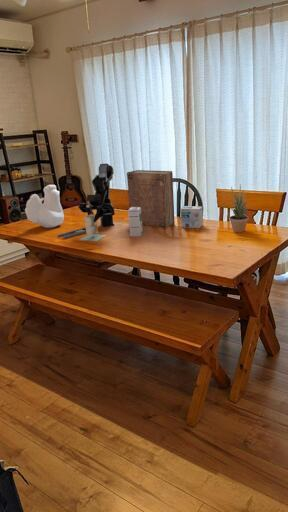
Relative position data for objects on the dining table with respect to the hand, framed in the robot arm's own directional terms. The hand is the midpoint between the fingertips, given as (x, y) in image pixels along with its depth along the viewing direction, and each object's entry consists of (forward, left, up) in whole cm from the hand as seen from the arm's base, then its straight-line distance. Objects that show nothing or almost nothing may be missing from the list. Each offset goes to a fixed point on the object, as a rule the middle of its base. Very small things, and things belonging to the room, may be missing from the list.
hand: (91, 221), depth 214 cm
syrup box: (-20, +10, -9) cm, 25 cm away
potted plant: (-65, +39, -9) cm, 77 cm away
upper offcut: (+3, -14, -8) cm, 16 cm away
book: (-38, -5, -9) cm, 40 cm away
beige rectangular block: (0, 0, -7) cm, 7 cm away
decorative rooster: (+15, -42, -9) cm, 45 cm away
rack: (+6, -13, -9) cm, 17 cm away
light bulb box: (-52, +15, -9) cm, 55 cm away
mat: (+1, 0, -9) cm, 9 cm away
